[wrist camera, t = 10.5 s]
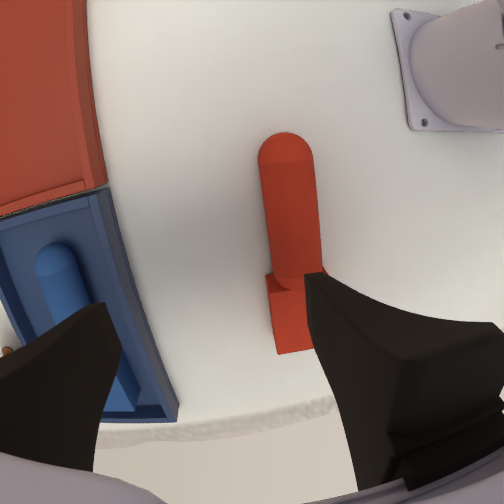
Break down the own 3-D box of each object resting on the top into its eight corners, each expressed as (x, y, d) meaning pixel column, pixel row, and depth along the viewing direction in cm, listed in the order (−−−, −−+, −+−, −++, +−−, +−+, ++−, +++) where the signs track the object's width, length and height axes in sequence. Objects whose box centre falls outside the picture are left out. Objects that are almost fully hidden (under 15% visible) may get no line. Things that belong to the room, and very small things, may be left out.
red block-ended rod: (245, 136, 17) (247, 137, 14) (310, 129, 17) (323, 129, 14) (273, 333, 21) (278, 359, 19) (325, 323, 21) (336, 348, 19)
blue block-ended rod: (37, 241, 17) (15, 258, 15) (81, 231, 18) (61, 247, 15) (101, 390, 22) (91, 415, 19) (141, 389, 22) (134, 415, 19)
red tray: (87, -56, 11) (76, -68, 9) (108, 181, 17) (95, 188, 15) (-26, 7, 11) (-41, 2, 9) (-9, 217, 17) (-26, 225, 15)
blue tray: (109, 186, 17) (96, 193, 15) (179, 404, 23) (176, 422, 22) (-8, 221, 17) (-25, 229, 15) (74, 405, 23) (67, 420, 21)
